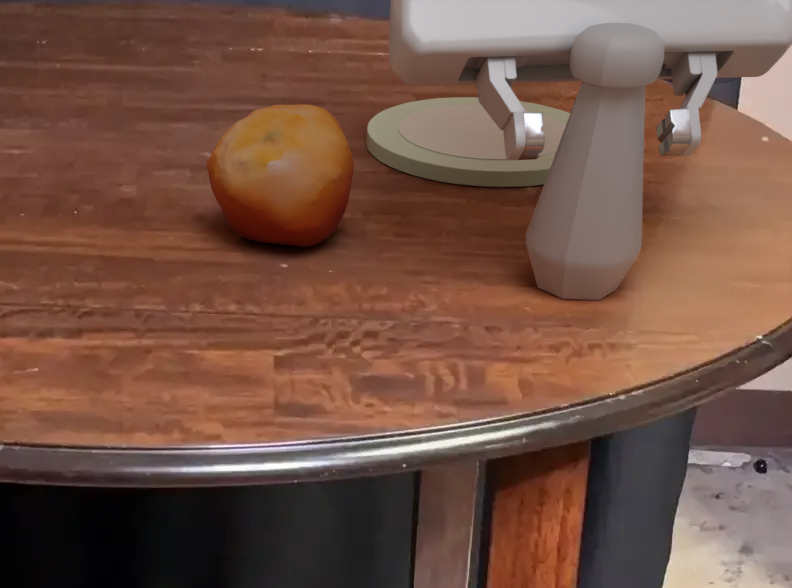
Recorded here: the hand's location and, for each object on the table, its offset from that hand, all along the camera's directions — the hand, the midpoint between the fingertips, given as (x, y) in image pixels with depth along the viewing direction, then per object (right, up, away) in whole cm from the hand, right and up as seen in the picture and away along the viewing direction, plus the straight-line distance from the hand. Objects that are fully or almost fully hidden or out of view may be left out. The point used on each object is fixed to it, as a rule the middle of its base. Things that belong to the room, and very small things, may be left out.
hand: (603, 153), depth 75 cm
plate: (-1, +8, +23) cm, 24 cm away
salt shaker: (0, -6, +5) cm, 7 cm away
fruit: (-15, -1, +11) cm, 19 cm away
